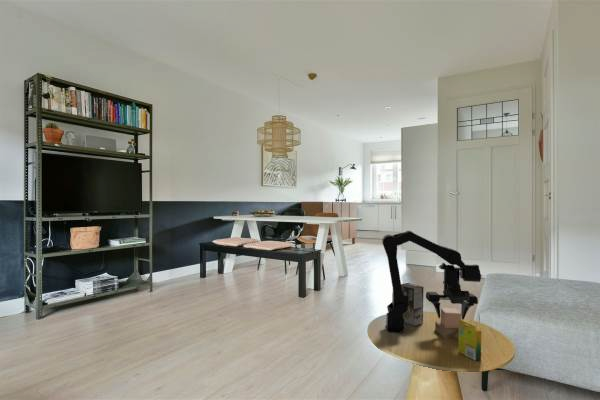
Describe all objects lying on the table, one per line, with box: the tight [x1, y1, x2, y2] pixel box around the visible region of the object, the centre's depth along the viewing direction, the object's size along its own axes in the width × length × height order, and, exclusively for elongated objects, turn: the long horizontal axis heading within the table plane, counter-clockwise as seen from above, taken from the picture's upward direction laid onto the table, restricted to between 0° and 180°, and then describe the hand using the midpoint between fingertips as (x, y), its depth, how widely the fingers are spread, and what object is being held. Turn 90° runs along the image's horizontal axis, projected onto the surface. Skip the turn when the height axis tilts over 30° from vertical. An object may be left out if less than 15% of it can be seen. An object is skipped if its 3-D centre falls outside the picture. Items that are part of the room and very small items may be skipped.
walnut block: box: [434, 320, 459, 340], centre depth 138 cm, size 9×9×4 cm
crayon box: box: [458, 319, 482, 361], centre depth 119 cm, size 7×3×12 cm, turn 21°
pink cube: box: [440, 307, 462, 329], centre depth 138 cm, size 6×6×6 cm
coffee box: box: [401, 282, 424, 326], centre depth 152 cm, size 9×6×16 cm
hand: (450, 318), depth 138 cm, fingers open, 9 cm apart
